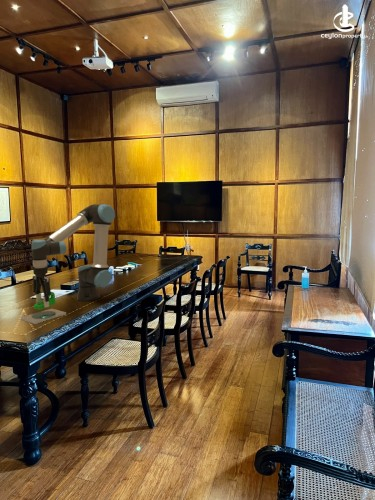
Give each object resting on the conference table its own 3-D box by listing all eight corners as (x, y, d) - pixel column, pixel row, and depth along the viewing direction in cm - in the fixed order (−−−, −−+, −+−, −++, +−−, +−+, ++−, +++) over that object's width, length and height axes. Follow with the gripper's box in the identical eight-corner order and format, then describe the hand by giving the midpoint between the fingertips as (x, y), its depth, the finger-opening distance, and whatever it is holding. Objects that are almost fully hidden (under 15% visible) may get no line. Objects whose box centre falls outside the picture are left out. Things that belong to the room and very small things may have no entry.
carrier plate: (52, 310, 216) (52, 308, 216) (66, 314, 208) (65, 312, 207) (21, 319, 200) (20, 317, 200) (34, 324, 192) (34, 321, 191)
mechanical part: (47, 303, 210) (46, 290, 209) (55, 303, 208) (54, 290, 207) (31, 308, 199) (30, 294, 198) (39, 309, 197) (38, 295, 196)
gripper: (24, 266, 202) (27, 304, 205) (44, 269, 191) (46, 310, 194) (36, 264, 208) (39, 301, 211) (56, 267, 197) (58, 307, 200)
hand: (42, 305), depth 203 cm, fingers closed on mechanical part, 7 cm apart
